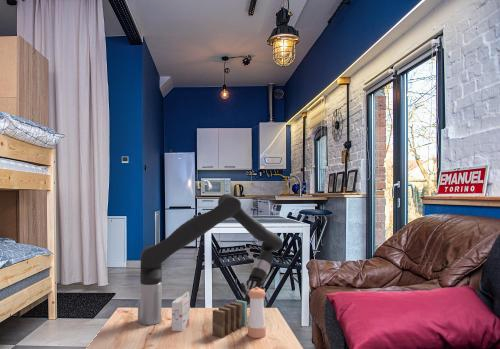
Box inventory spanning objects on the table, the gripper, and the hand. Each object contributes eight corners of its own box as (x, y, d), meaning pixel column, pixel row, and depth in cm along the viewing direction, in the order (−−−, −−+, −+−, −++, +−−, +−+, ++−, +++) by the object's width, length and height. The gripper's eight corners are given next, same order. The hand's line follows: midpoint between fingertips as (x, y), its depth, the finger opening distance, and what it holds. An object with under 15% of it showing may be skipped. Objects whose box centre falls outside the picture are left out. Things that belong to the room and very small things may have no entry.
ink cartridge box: (178, 323, 167) (179, 289, 168) (189, 324, 166) (190, 290, 167) (171, 330, 159) (171, 295, 159) (182, 331, 158) (182, 295, 158)
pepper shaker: (251, 339, 150) (251, 290, 151) (245, 332, 157) (245, 285, 158) (268, 336, 153) (268, 288, 154) (261, 330, 160) (261, 284, 161)
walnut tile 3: (226, 328, 162) (226, 304, 163) (236, 330, 159) (236, 306, 160) (224, 329, 161) (224, 305, 161) (233, 331, 158) (233, 307, 158)
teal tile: (237, 322, 169) (237, 299, 169) (246, 324, 166) (246, 301, 167) (235, 323, 168) (235, 300, 168) (244, 326, 165) (244, 302, 165)
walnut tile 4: (220, 331, 159) (220, 306, 159) (230, 333, 156) (230, 308, 156) (218, 332, 157) (218, 307, 158) (228, 334, 155) (228, 309, 155)
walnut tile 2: (232, 325, 165) (232, 302, 166) (241, 327, 163) (241, 304, 163) (229, 326, 164) (230, 303, 164) (239, 328, 161) (239, 305, 162)
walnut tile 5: (214, 334, 155) (215, 309, 156) (224, 336, 153) (224, 311, 153) (212, 335, 154) (212, 310, 154) (222, 338, 151) (222, 312, 152)
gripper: (245, 265, 183) (230, 297, 172) (269, 268, 175) (254, 302, 165) (251, 274, 187) (236, 306, 176) (275, 278, 180) (261, 311, 169)
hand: (245, 304), depth 170 cm, fingers closed
